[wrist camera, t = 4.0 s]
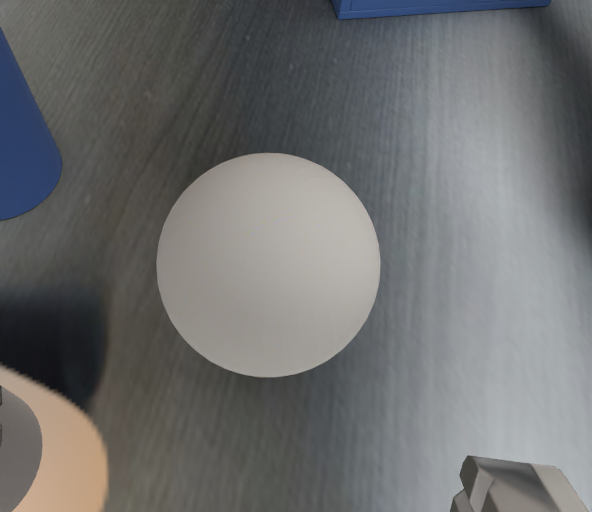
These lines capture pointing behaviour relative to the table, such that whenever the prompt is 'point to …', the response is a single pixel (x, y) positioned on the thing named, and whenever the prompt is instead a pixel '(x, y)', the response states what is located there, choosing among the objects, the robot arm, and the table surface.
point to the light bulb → (268, 265)
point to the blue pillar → (23, 143)
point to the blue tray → (422, 6)
